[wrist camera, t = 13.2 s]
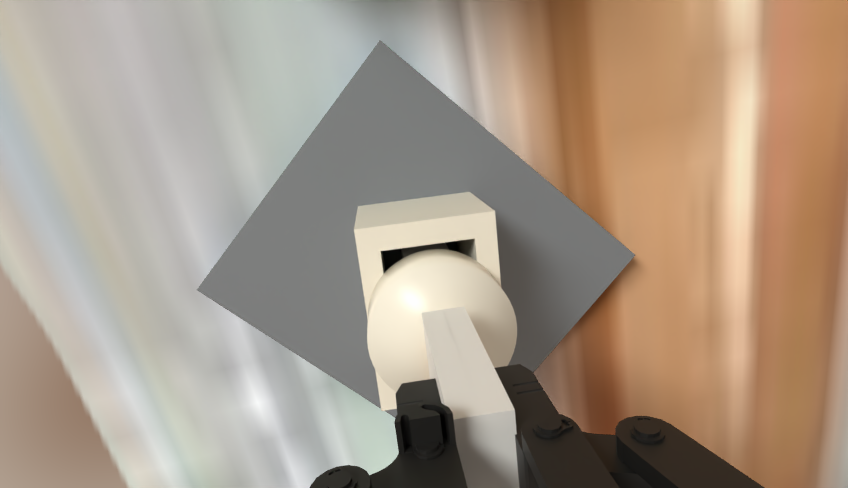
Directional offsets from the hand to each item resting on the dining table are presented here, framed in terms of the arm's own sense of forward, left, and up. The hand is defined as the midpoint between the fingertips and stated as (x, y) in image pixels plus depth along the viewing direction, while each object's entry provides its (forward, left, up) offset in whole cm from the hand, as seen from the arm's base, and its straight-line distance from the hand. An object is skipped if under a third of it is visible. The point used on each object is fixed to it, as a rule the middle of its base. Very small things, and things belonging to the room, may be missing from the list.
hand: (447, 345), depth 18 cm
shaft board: (0, 0, -10) cm, 10 cm away
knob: (0, 0, -9) cm, 9 cm away
